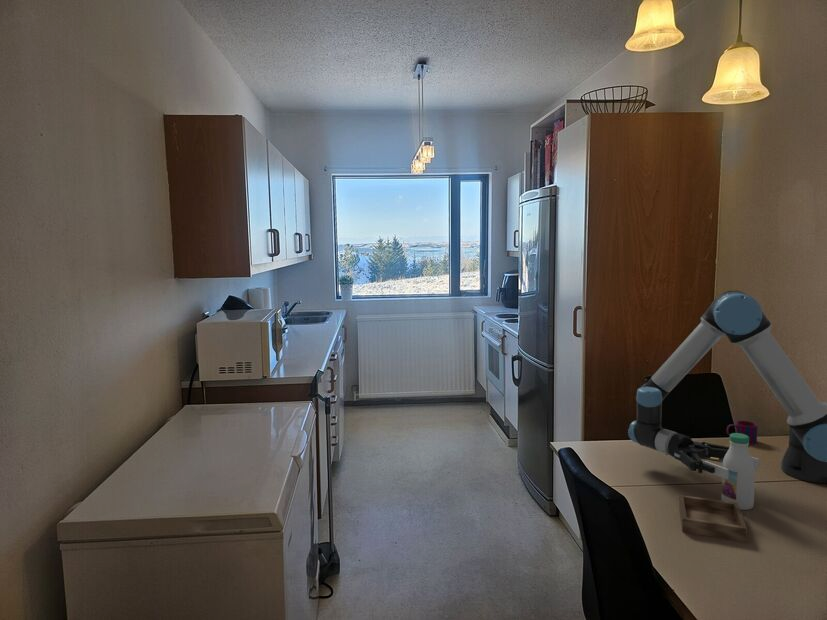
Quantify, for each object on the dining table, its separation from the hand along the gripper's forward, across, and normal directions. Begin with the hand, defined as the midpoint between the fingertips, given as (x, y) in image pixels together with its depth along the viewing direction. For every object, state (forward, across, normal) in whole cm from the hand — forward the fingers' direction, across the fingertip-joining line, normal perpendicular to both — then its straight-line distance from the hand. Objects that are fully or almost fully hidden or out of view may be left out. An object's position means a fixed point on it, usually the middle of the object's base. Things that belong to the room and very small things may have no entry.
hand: (743, 468), depth 142 cm
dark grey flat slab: (-33, -26, -12) cm, 44 cm away
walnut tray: (+1, +16, -11) cm, 19 cm away
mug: (-30, -48, -11) cm, 58 cm away
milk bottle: (-1, 0, -11) cm, 11 cm away
